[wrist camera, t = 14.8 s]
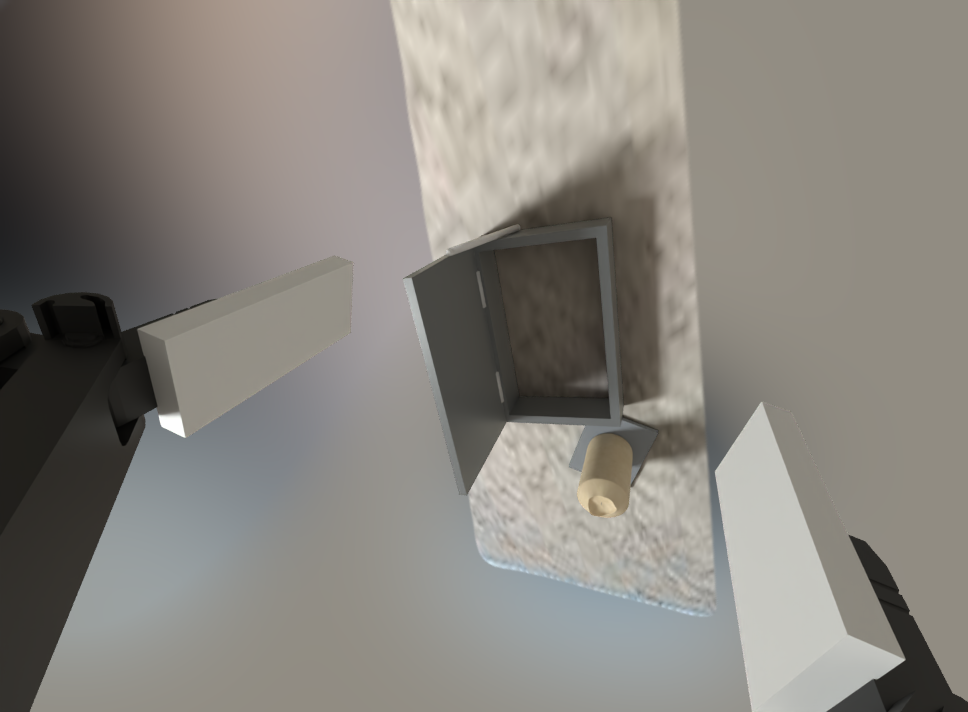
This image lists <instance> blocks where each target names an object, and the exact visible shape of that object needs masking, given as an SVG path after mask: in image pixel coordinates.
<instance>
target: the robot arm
mask: <svg viewBox="0 0 968 712" xmlns="http://www.w3.org/2000/svg"><path fill="white" fill-rule="evenodd" d="M352 284H353V262H351V261H348V260H345V259H342V258H340V257H336V256H332V257H329V258H327V259H324V260H321V261H319V262H316V263H313V264H311V265H308V266H305V267H303V268H300V269H297V270H294V271H292V272H290V273H286V274H284V275H281V276H278V277H276V278H273V279H270V280H267V281H265V282H262V283H259V284H257V285H254V286H251V287H249V288H246V289H243V290H241V291H238V292H235V293H233V294H230V295H227V296H225V297H222V298H219V299H213V300H208V301H205V302H202V303H200V304H197V305H194V306H191V307H190V309H188V308H186V309H183V310H180V311H178V312H176V313H175V314H169V315H167V316H164V317H161V318H159V319H156V320H153V321H150V322H148V323H145V324H142V325H140V326H137V327H134V328H131V329H129V330H126V331H123V332H121V329H120V325H119V322H118V318H117V314H116V311H115V307H114V303H113V301H112V300H111V299H110V298H109V297H107V296H104V295H101V294H96V293H85V292H81V293H65V294H59V295H54V296H50V297H47V298H44V299H41V300H39V301H37V302H36V303H34V304H32V308H33V310H34V313H35V315H36V318H37V321H38V324H39V326H40V329H41V331H42V334H43V335H40V334H34V333H30V332H29V329H28V327H27V324H26V322H25V319H24V317H23V316H22V315H21V314H19V313H18V312H14V311H10V310H0V712H30V709H31V707H32V704H33V702H34V699H35V697H36V694H37V692H38V689H39V687H40V685H41V682H42V679H43V677H44V675H45V672H46V670H47V667H48V665H49V662H50V660H51V657H52V655H53V652H54V650H55V648H56V645H57V643H58V640H59V638H60V635H61V633H62V630H63V628H64V625H65V623H66V621H67V618H68V616H69V613H70V611H71V608H72V606H73V603H74V601H75V598H76V596H77V593H78V591H79V589H80V586H81V584H82V581H83V579H84V576H85V574H86V571H87V569H88V567H89V564H90V561H91V559H92V556H93V554H94V551H95V549H96V547H97V544H98V542H99V539H100V537H101V534H102V532H103V530H104V527H105V525H106V522H107V520H108V517H109V515H110V512H111V510H112V507H113V505H114V502H115V500H116V498H117V495H118V493H119V490H120V488H121V485H122V483H123V480H124V478H125V475H126V473H127V471H128V468H129V466H130V463H131V461H132V458H133V456H134V453H135V451H136V448H137V446H138V444H139V441H140V438H141V436H142V433H143V431H144V429H145V417H144V414H145V413H147V412H149V411H151V410H152V409H154V408H156V407H157V410H158V415H159V419H160V423H161V426H162V427H164V428H166V429H168V430H170V431H172V432H174V433H176V434H178V435H180V436H182V437H184V438H186V437H188V436H190V435H191V434H193V433H194V432H196V431H197V430H199V429H201V428H202V427H204V426H205V425H207V424H208V423H210V422H212V421H213V420H215V419H216V418H218V417H219V416H221V415H223V414H224V413H226V412H227V411H229V410H230V409H232V408H234V407H235V406H237V405H238V404H240V403H241V402H243V401H244V400H246V399H247V398H249V397H251V396H252V395H254V394H255V393H257V392H258V391H260V390H262V389H263V388H265V387H266V386H268V385H270V384H271V383H273V382H274V381H275V380H277V379H279V378H281V377H282V376H284V375H285V374H287V373H288V372H290V371H292V370H293V369H294V368H296V367H298V366H299V365H301V364H302V363H304V362H306V361H307V360H309V359H310V358H312V357H313V356H315V355H317V354H318V353H320V352H321V351H323V350H324V349H326V348H328V347H329V346H331V345H332V344H334V343H335V342H337V341H339V340H340V339H342V338H343V337H345V336H346V335H348V334H349V333H350V332H351V309H352ZM715 475H716V481H717V488H718V494H719V501H720V507H721V513H722V519H723V526H724V533H725V539H726V546H727V552H728V559H729V565H730V572H731V578H732V584H733V591H734V598H735V604H736V611H737V617H738V624H739V630H740V637H741V643H742V650H743V656H744V662H745V669H746V676H747V682H748V688H749V695H750V701H751V708H752V712H968V702H967V701H965V700H964V699H963V698H961V697H959V696H957V695H955V694H953V693H952V691H951V689H950V687H949V686H948V684H947V682H946V680H945V678H944V676H943V674H942V672H941V670H940V668H939V666H938V664H937V662H936V661H935V658H934V657H933V655H932V653H931V651H930V649H929V647H928V645H927V643H926V641H925V639H924V637H923V635H922V633H921V631H920V630H919V628H918V626H917V624H916V622H915V620H914V618H913V616H911V615H909V611H910V610H909V608H908V606H907V604H906V602H905V600H904V599H903V597H902V595H900V594H898V592H899V589H898V587H897V585H896V583H895V581H894V580H893V577H892V575H891V573H890V572H889V570H888V568H887V566H886V565H885V564H884V562H883V561H882V560H881V559H880V558H879V557H878V556H877V554H875V552H874V551H873V550H872V549H871V547H870V546H869V545H868V544H867V543H866V542H865V541H863V540H860V539H858V538H855V537H853V536H850V535H848V533H847V531H846V529H845V527H844V525H843V522H842V520H841V518H840V516H839V514H838V512H837V510H836V507H835V505H834V503H833V501H832V499H831V496H830V494H829V492H828V490H827V488H826V486H825V483H824V481H823V479H822V477H821V475H820V473H819V471H818V468H817V466H816V464H815V462H814V460H813V458H812V455H811V453H810V451H809V449H808V447H807V444H806V442H805V440H804V438H803V436H802V434H801V431H800V429H799V427H798V425H797V423H796V421H795V419H794V416H793V414H792V412H791V411H788V410H785V409H782V408H779V407H777V406H773V405H771V404H768V403H765V402H761V403H760V405H759V406H758V408H757V409H756V411H755V412H754V414H753V415H752V417H751V418H750V420H749V421H748V423H747V424H746V426H745V427H744V429H743V430H742V432H741V433H740V435H739V436H738V438H737V439H736V441H735V442H734V444H733V445H732V447H731V449H730V450H729V451H728V453H727V455H726V456H725V458H724V459H723V461H722V462H721V463H720V465H719V467H718V468H717V469H716V471H715Z"/></svg>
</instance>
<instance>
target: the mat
mask: <svg viewBox="0 0 968 712" xmlns="http://www.w3.org/2000/svg"><path fill="white" fill-rule="evenodd" d="M604 433H611V434H615V435H618V436H620V437H622V438H624V439H625V440H626V441H627V442H628V443H629V444H630V446H631V448H632V452H633V460H632V472H631V483H632V482H633V480H634V478H635V476H636V474H637V472H638V470H639V468H640V467H641V465H642V463H643V461H644V459H645V457H646V455H647V453H648V452H649V450H650V448H651V446H652V444H653V442H654V440H655V438H656V437H657V435H658V430H655V429H653V428H650V427H647V426H644V425H642V424H639V423H636V422H634V421H631V420H628V419H626V418H623V417H622V422H621V427H609V426H587V425H585V428H584V430H583V433H582V435H581V437H580V440H579V442H578V445H577V447H576V450H575V452H574V454H573V457H572V459H571V462H570V464H569V467H570V468H573V469H575V470H578V471H580V472H582V469H583V465H584V461H585V456H586V452H587V448H588V445H589V443H590V441H591V440H592V439H593V438H594V437H595V436H597V435H599V434H604ZM630 485H631V484H630Z"/></svg>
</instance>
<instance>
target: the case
mask: <svg viewBox="0 0 968 712" xmlns="http://www.w3.org/2000/svg"><path fill="white" fill-rule="evenodd" d="M590 238H596V240H597V253H598V265H599V278H600V290H601V302H602V315H603V327H604V340H605V352H606V365H607V377H608V390H609V398H570V397H520V396H519V392H518V386H517V380H516V374H515V368H514V363H513V357H512V351H511V345H510V340H509V334H508V328H507V322H506V317H505V311H504V305H503V299H502V293H501V288H500V282H499V276H498V270H497V265H496V259H495V253H494V250H499V249H507V248H516V247H524V246H532V245H540V244H548V243H557V242H565V241H573V240H581V239H590ZM403 281H404V285H405V289H406V293H407V296H408V300H409V304H410V308H411V311H412V315H413V319H414V323H415V327H416V331H417V334H418V338H419V342H420V346H421V350H422V353H423V357H424V361H425V365H426V369H427V373H428V376H429V380H430V384H431V388H432V392H433V395H434V399H435V403H436V407H437V411H438V415H439V418H440V422H441V426H442V430H443V433H444V437H445V441H446V445H447V449H448V453H449V456H450V460H451V464H452V468H453V471H454V476H455V479H456V483H457V487H458V491H459V494H460V495H467V494H468V492H469V490H470V489H471V487H472V485H473V483H474V481H475V479H476V477H477V476H478V474H479V472H480V470H481V468H482V466H483V465H484V463H485V461H486V459H487V457H488V455H489V454H490V452H491V450H492V448H493V446H494V444H495V442H496V441H497V439H498V437H499V435H500V433H501V431H502V430H503V428H504V426H505V424H506V422H520V423H542V424H564V425H587V426H609V427H621V422H622V415H623V408H624V401H623V386H622V371H621V355H620V340H619V325H618V310H617V294H616V279H615V264H614V248H613V233H612V218H611V217H610V218H603V219H596V220H589V221H581V222H574V223H567V224H560V225H552V226H545V227H538V228H530V229H523V230H520V225H519V224H516V225H513V226H510V227H508V228H505V229H502V230H499V231H496V232H494V233H491V234H487V235H482V236H480V237H479V238H477V239H474V240H471V241H468V242H466V243H463V244H460V245H457V246H454V247H452V248H449V249H447V251H446V255H444V256H443V257H441V258H439V259H437V260H436V261H434V262H432V263H430V264H428V265H427V266H425V267H423V268H421V269H419V270H418V271H416V272H414V273H412V274H410V275H409V276H407V277H405V278H403Z"/></svg>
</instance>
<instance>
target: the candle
mask: <svg viewBox="0 0 968 712" xmlns="http://www.w3.org/2000/svg"><path fill="white" fill-rule="evenodd" d="M632 460H633V452H632V448H631V446H630V444H629V443H628V442H627V441H626V440H625V439H624V438H622V437H620V436H618V435H615V434H611V433H604V434H599V435H597V436H595V437H594V438H593V439H592V440H591V441H590V443H589V445H588V448H587V452H586V456H585V461H584V465H583V469H582V474H581V478H580V482H579V487H578V491H577V497H578V500H579V502H580V504H581V505H582V506H583V507H584V508H585V509H586V510H587V511H588V512H589V513H590V514H591V515H594V516H599V517H605V518H611V517H616V516H619V515H621V514H623V513H624V512H625V511H626V510H627V508H628V505H629V496H630V484H631V472H632Z"/></svg>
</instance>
